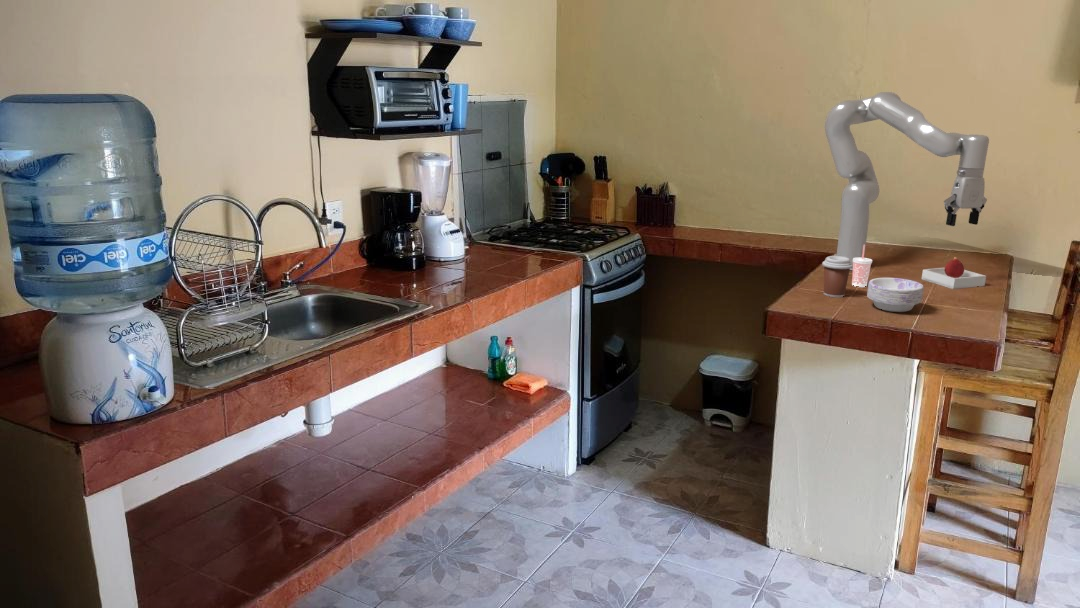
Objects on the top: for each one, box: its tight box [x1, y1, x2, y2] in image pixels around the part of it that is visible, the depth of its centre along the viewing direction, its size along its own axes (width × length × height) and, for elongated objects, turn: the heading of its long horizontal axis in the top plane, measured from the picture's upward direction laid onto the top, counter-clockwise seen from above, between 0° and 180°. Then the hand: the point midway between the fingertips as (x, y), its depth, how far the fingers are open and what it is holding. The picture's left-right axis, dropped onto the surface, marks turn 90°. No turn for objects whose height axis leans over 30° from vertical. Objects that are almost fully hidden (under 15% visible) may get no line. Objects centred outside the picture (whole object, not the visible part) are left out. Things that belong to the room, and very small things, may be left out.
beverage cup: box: [851, 245, 873, 288], centre depth 258 cm, size 6×6×14 cm
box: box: [921, 267, 987, 290], centre depth 264 cm, size 14×14×4 cm
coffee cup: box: [821, 255, 853, 298], centre depth 247 cm, size 9×9×12 cm
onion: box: [944, 256, 965, 278], centre depth 263 cm, size 6×6×8 cm
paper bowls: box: [866, 277, 925, 313], centre depth 233 cm, size 15×15×8 cm
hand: (961, 224), depth 259 cm, fingers open, 9 cm apart
